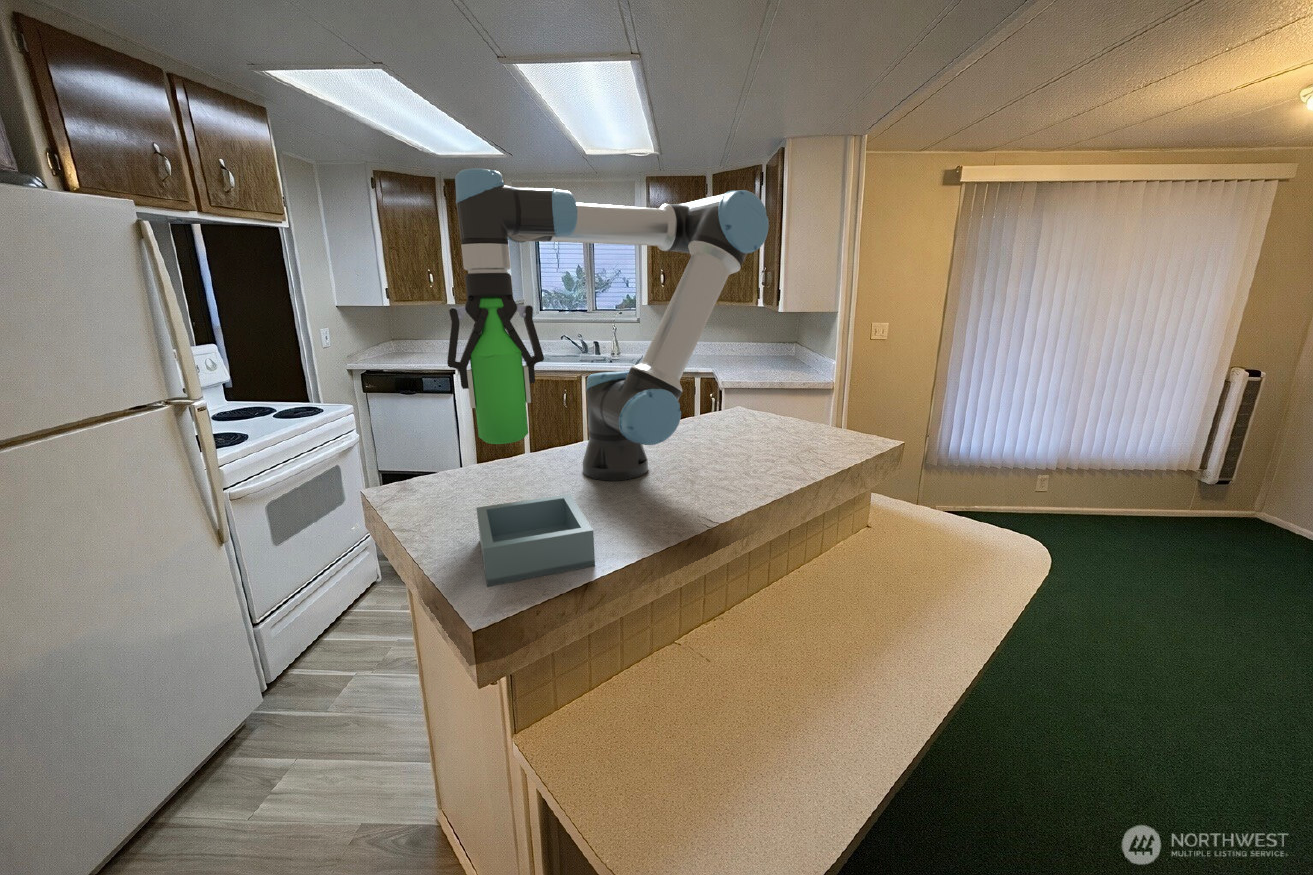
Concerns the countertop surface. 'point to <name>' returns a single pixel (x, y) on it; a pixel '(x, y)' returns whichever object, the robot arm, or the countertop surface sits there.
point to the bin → (534, 539)
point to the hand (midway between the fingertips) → (500, 403)
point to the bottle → (498, 381)
